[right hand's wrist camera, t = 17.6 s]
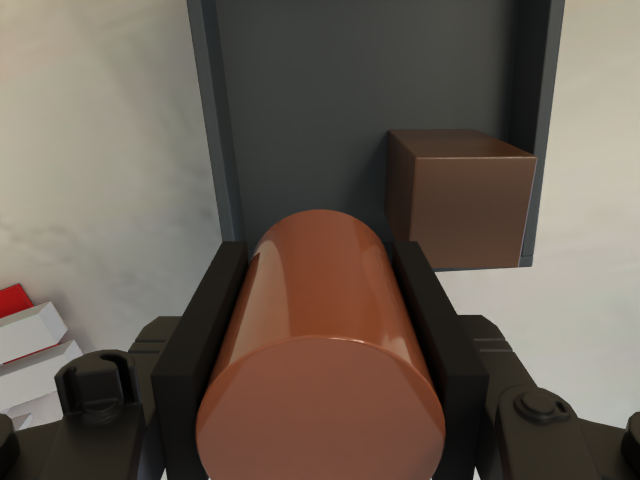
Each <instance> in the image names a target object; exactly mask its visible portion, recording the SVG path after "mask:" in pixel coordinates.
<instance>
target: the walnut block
mask: <svg viewBox="0 0 640 480" xmlns="http://www.w3.org/2000/svg"><path fill="white" fill-rule="evenodd" d="M537 159H538V158H537V156H535V155H532V154H530V153H528V152H526V151H523V150H521V149H519V148H517V147H514V146H512V145H510V144H508V143H505V142H503V141H501V140H499V139H496V138H494V137H492V136H490V135H487V134H485V133H483V132H481V131H478V130H476V129H390V130H388V143H387V162H386V182H385V201H384V214H385V216H386V219H387V221H388V223H389V226H390V228H391V230H392V233H393V235H394V237H395V240H396V241H417V242H418V243H419V245H420V247H421V249H422V251H423V253H424V254H425V256H426V258H427V260H428V262H429V264H430V265H431V267H432V268H515V267H519V262H520V256H521V251H522V245H523V239H524V233H525V228H526V222H527V216H528V210H529V205H530V199H531V193H532V187H533V182H534V176H535V170H536V165H537Z"/></svg>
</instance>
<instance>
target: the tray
mask: <svg viewBox="0 0 640 480" xmlns="http://www.w3.org/2000/svg"><path fill="white" fill-rule="evenodd" d="M186 1H187V7H188V14H189V21H190V27H191V34H192V41H193V47H194V54H195V61H196V67H197V74H198V81H199V87H200V94H201V101H202V107H203V114H204V121H205V127H206V134H207V141H208V147H209V154H210V161H211V167H212V174H213V181H214V187H215V194H216V201H217V207H218V214H219V221H220V227H221V234H222V241H247V248H248V264H249V263H250V260H251V258H252V255H253V252H254V249H255V247H256V246H257V244H258V242H259V240H260V239H261V238H262V236H263V235H264V234H265V233H266V232H267V231H268V230H269V229H270V228H271V227H272V226H273V225H275V224H276V223H277V222H279V221H281V220H282V219H284V218H286V217H288V216H290V215H293V214H295V213H299V212H302V211H308V210H320V209H324V210H333V211H338V212H342V213H345V214H347V215H350V216H352V217H354V218H356V219H358V220H360V221H361V222H363V223H364V224H366V225H367V226H368V227H369V228H370V229H371V230H373V231H374V232H375V234H376V235H377V236H378V237H379V239H380V240H381V242H382V243H383V245H384V247H385V249H386V251H387V254H388V257H389V259H390V262H391V265H392V251H393V241H396V240H395V237H394V235H393V233H392V230H391V228H390V226H389V223H388V221H387V219H386V216H385V214H384V201H385V182H386V162H387V143H388V130H390V129H476V130H478V131H481V132H483V133H485V134H487V135H490V136H492V137H494V138H496V139H499V140H501V141H503V142H505V143H508V144H510V145H512V146H514V147H517V148H519V149H521V150H523V151H526V152H528V153H530V154H532V155H535V156H537V158H538V159H537V165H536V170H535V176H534V182H533V187H532V193H531V199H530V205H529V210H528V216H527V222H526V228H525V233H524V239H523V245H522V251H521V256H520V262H519V267H531V266H532V262H533V254H534V246H535V238H536V230H537V222H538V214H539V206H540V198H541V190H542V182H543V174H544V165H545V157H546V149H547V141H548V133H549V125H550V117H551V109H552V101H553V93H554V85H555V77H556V69H557V61H558V53H559V44H560V36H561V28H562V20H563V12H564V4H565V0H186ZM515 268H516V267H515ZM432 269H433V271H434V272H444V271H462V270H480V269H498V268H432Z"/></svg>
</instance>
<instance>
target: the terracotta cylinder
mask: <svg viewBox="0 0 640 480" xmlns="http://www.w3.org/2000/svg"><path fill="white" fill-rule="evenodd" d="M445 437H446V426H445V417H444V413H443V409H442V406H441V403H440V400H439V397H438V394H437V391H436V389H435V386H434V383H433V380H432V377H431V375H430V372H429V369H428V366H427V363H426V361H425V358H424V355H423V352H422V349H421V347H420V344H419V341H418V338H417V335H416V332H415V330H414V327H413V324H412V321H411V318H410V316H409V313H408V310H407V307H406V304H405V302H404V299H403V296H402V293H401V290H400V287H399V285H398V282H397V279H396V276H395V273H394V271H393V268H392V265H391V262H390V259H389V257H388V254H387V251H386V249H385V247H384V245H383V243H382V242H381V240H380V239H379V237H378V236H377V235H376V234H375V232H374V231H373V230H371V229H370V228H369V227H368V226H367V225H366V224H364V223H363V222H361V221H360V220H358V219H356V218H354V217H352V216H350V215H347V214H345V213H342V212H338V211H333V210H324V209H320V210H308V211H302V212H299V213H295V214H293V215H290V216H288V217H286V218H284V219H282V220H281V221H279V222H277V223H276V224H275V225H273V226H272V227H271V228H270V229H269V230H268V231H267V232H266V233H265V234H264V235H263V236H262V238H261V239H260V240H259V242H258V244H257V246H256V247H255V249H254V252H253V255H252V258H251V260H250V263H249V266H248V269H247V272H246V275H245V278H244V281H243V283H242V286H241V289H240V292H239V295H238V298H237V301H236V303H235V306H234V309H233V312H232V315H231V318H230V321H229V323H228V326H227V329H226V332H225V335H224V338H223V341H222V344H221V346H220V349H219V352H218V355H217V358H216V361H215V364H214V366H213V369H212V372H211V375H210V378H209V381H208V384H207V386H206V389H205V392H204V395H203V398H202V401H201V404H200V406H199V409H198V412H197V418H196V424H195V439H196V445H197V451H198V454H199V457H200V460H201V463H202V465H203V467H204V469H205V471H206V473H207V475H208V476H209V478H210V479H211V480H430V479H431V477H432V476H433V474H434V472H435V471H436V469H437V467H438V464H439V462H440V460H441V457H442V453H443V450H444V446H445Z"/></svg>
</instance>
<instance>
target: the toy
mask: <svg viewBox="0 0 640 480" xmlns="http://www.w3.org/2000/svg"><path fill="white" fill-rule="evenodd" d="M67 330H68V329H67V327H66V325H65V324H64V322H63V320H62V319H61V317H60V315H59V314H58V312H57V311H56V309H55V307H54V306H53V304H52V302H51V301H48V302H46V303H43V304H40V305H37V306H33V304H32V303H31V301H30V300H29V298H28V296H27V295H26V293H25V292H24V290H23V289H22V287H21V286H20V284H16V285H14V286H11V287H9V288H6V289H3V290H1V291H0V413H1V414H6V413H7V412H8V410H9V409H10V408H11V407H14V406H16V405H19V404H22V403H25V402H28V401H30V400H33V399H36V398H39V397H41V396H44V395H47V394H50V393H53V392H55V391H57V388H56V384H55V380H54V376H55V375H56V374H57V372H58V371H59V370H60V369H61V367H63V366H64V365H66V364H67V363H69V362H70V361H72V360H73V359H75V358H78V357H80V356H82V355H83V353H82V352H81V350H80V348H79V347H78V345H77V343H76V342H75V340H71V341H68V342H66V343H63V344H60V345H59V343H58V342H59V340H60V339H61V338H62V337H63V335H64V334H65V333H66V331H67ZM33 419H34V418H33V416H32V414H31V413H30V414H26V415H23V416H19V417H15V418H11V420H12V421H13V425H14V428H15V431H18V430H22V429H26V428H27V427H28V426H29V424H30V423H31V421H32V420H33Z"/></svg>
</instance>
